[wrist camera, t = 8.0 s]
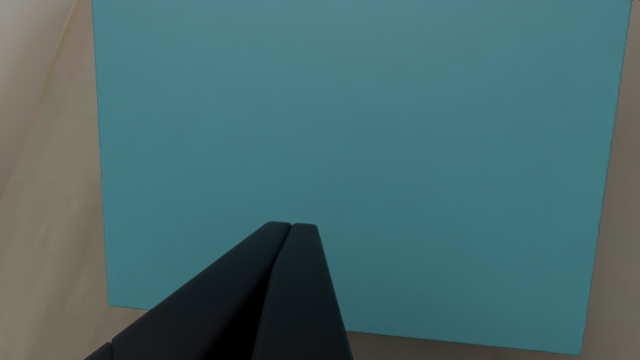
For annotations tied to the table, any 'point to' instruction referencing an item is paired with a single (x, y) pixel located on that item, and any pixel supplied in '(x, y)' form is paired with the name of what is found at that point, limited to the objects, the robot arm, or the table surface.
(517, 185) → the cover
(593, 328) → the table surface
